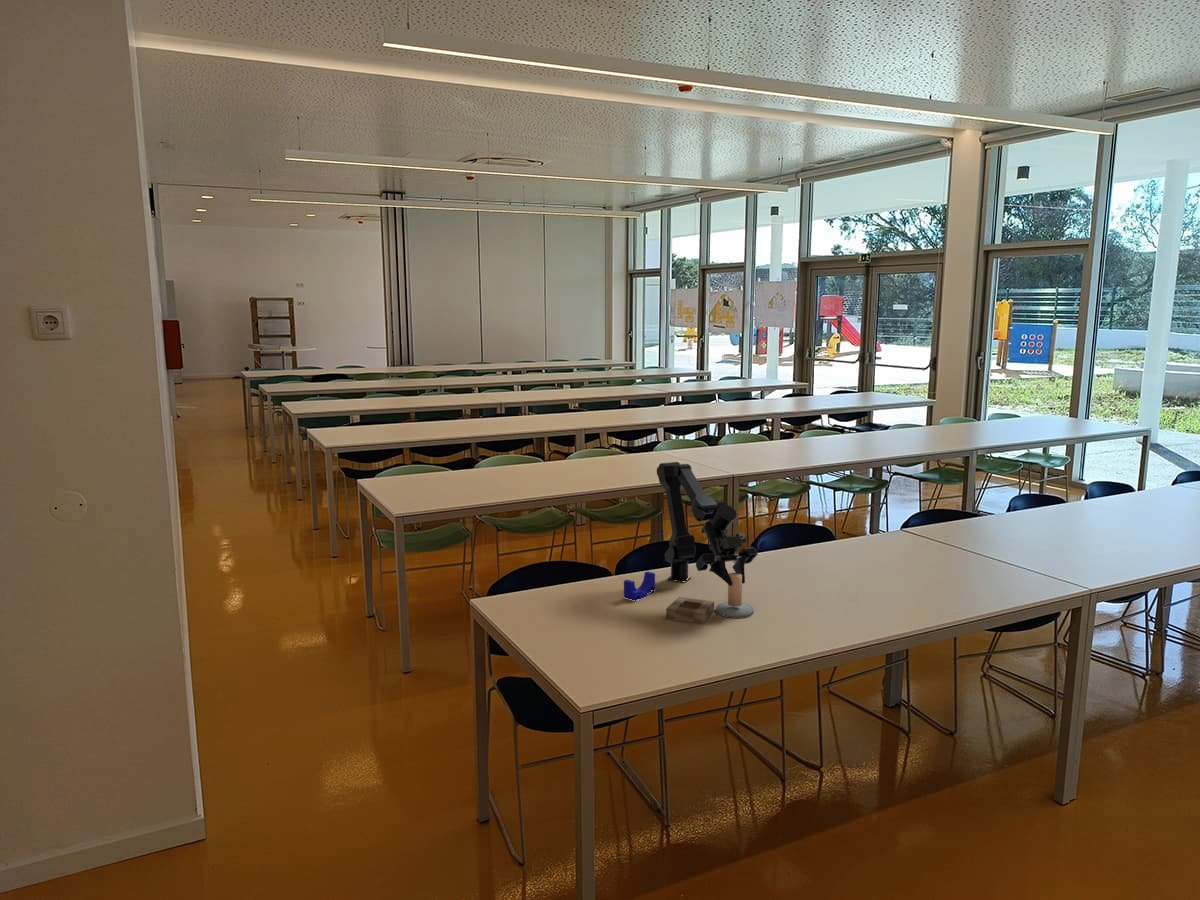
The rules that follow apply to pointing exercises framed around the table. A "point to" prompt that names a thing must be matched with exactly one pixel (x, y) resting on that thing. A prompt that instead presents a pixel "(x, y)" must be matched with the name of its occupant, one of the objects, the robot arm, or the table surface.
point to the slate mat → (734, 610)
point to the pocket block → (690, 610)
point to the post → (735, 590)
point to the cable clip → (642, 591)
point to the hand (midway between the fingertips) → (737, 584)
